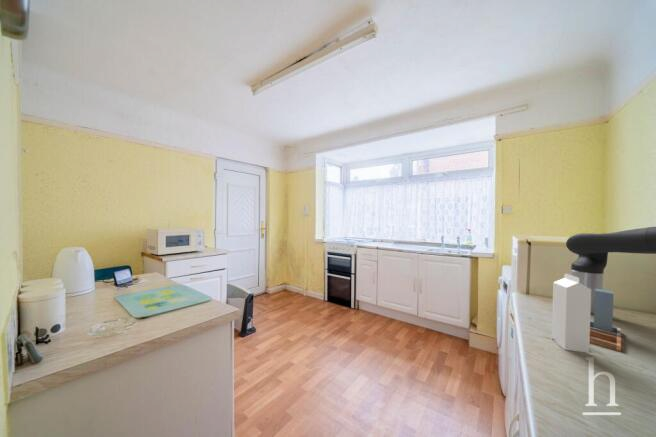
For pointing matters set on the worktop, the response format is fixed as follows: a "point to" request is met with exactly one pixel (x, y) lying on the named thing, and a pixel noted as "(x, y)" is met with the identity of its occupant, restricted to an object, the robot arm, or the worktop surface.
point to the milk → (571, 314)
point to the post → (603, 310)
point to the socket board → (607, 338)
